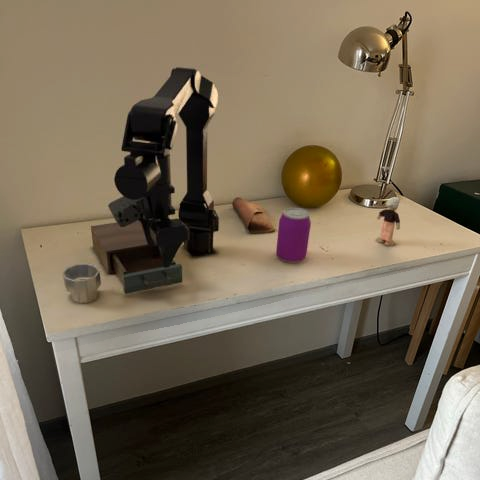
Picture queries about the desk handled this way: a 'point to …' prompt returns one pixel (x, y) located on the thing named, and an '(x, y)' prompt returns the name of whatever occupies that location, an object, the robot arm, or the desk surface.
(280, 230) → the beverage can
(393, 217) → the grandmother figurine
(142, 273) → the drawer
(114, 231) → the cabinet
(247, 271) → the desk surface
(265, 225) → the sunglasses case
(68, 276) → the cup
